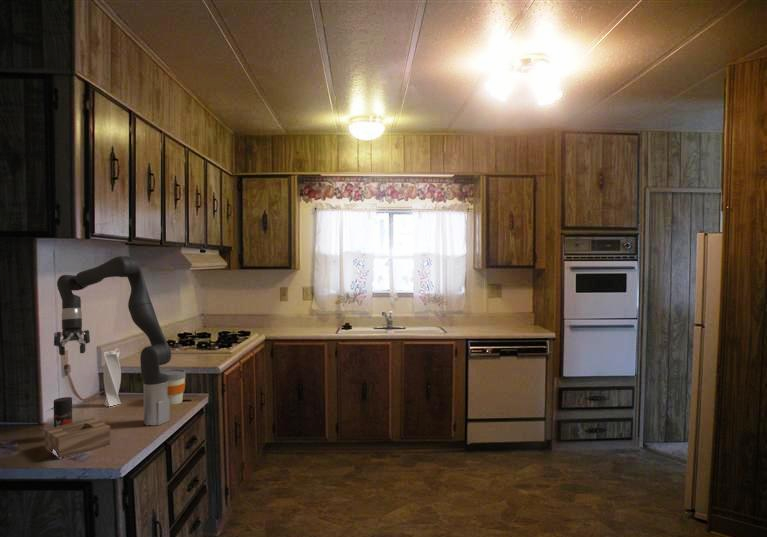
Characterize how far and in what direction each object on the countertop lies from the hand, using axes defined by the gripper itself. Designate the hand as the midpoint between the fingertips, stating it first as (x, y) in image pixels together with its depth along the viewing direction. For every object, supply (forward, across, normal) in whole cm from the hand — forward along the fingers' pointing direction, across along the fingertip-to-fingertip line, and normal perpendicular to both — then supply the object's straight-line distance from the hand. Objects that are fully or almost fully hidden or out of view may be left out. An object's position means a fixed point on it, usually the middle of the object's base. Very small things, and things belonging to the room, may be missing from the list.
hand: (72, 354), depth 199 cm
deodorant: (+32, -16, -19) cm, 41 cm away
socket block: (+34, -20, -34) cm, 52 cm away
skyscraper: (+27, +20, +3) cm, 34 cm away
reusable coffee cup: (+29, +34, -21) cm, 50 cm away
